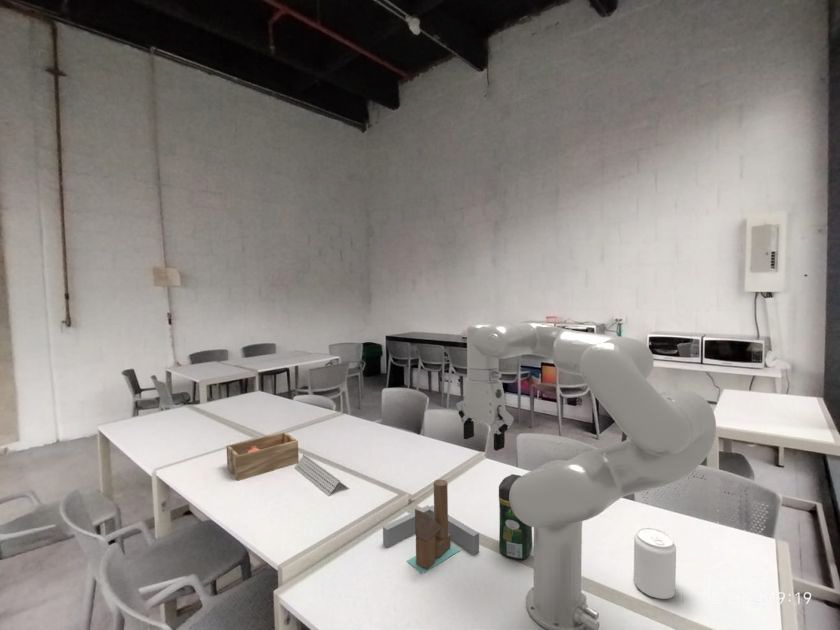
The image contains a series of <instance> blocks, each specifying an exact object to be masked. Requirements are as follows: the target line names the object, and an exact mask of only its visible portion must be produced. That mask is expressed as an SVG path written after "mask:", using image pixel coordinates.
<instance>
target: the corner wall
mask: <svg viewBox="0 0 840 630" xmlns="http://www.w3.org/2000/svg"><path fill="white" fill-rule="evenodd" d="M418 510H419V511H422V512H424V513H427V514H428V515H429V516H430V517H431V518H432V519H434V505H431V506H429V505H425V506H423V507H421V508H419V509H418ZM448 534H450V541H451V542H454V543H455V544H457V545H458V546H459V547H460V548H463V549H464V550H466V551H467V552H469V553H470V554H471V555H473V556H475V555H476V554H478V553H479V552H480V533H479V532H478V531H477V530H475V529H473V528H471V527H470V526H468V525H466V524H464V523H463V522H461V521H460V520H458V519H456V518H454V517H453V516H451V515H450V514H448ZM413 535H415V511H413V512H410V513H409V514H407V515H404V516H403V517H400V518H398V519H395V520H394V521H391V522H389V523H387V524H386V525H384V526H382V540H383V541H382V542H383V543H382V545H383V546H384V547H385V548H387V549H390V548H391V547H393V546H394V545H396V544H398V543H400V542H402V541H404V540H406V539H408V538H410V537H411V536H413Z"/></svg>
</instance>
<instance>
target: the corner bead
mask: <svg viewBox="0 0 840 630" xmlns="http://www.w3.org/2000/svg"><path fill="white" fill-rule="evenodd" d="M294 469H295V470H296V471H297V472H298V473H300V474H301V476H303V477H304V478H306V479H307V480H308V481H309V482H310V483H311V484H313V485H314V486H315V487H316V488H318V490H320V491H321V492H322V493H323V494H325V495H326V496H327V497H330V496H331V494H332V493H333V491H334V490H335V489H336V487H337V485H338V484H339V483H340V484H341V485H343V486H345V488H347V489H350V488H349V487H348V486H347V485H345V483H343V482H341V481H340V479H339V478H338V477H336V476H335V475H334V474H332V473H331V472H329V471H328V470H326V469H325V468H324V467H322V465H321V466H320V464H318V463H316V462H315V461H314V460H313V459H311V458H310V457H308V456H307V455H306V454H304V453H303V454H302V457H301V458H300V459H299V462H298V463H296V464H295V466H294Z"/></svg>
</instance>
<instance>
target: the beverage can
mask: <svg viewBox="0 0 840 630" xmlns="http://www.w3.org/2000/svg"><path fill="white" fill-rule="evenodd" d="M676 564H677V547H676V544H675V542H674V539H673V537H672V536H671V535H670V534H669V533H667V532H665V531H663V530H660V529H659V528H656V527H655V528H654V527H640V528H638V529H637V531H636V533H635V534H634V538H633V582H634V584H635V586H636V587H637V588H638V589H639V590H640V591H641V592H643V593H644V594H645V595H647V596H650V597H653V598H656V599H661V600H666V599H671V598H673V597H674V596H675V594H676V577H677V576H676V575H677V573H676V572H677V571H676V570H677V565H676Z"/></svg>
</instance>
